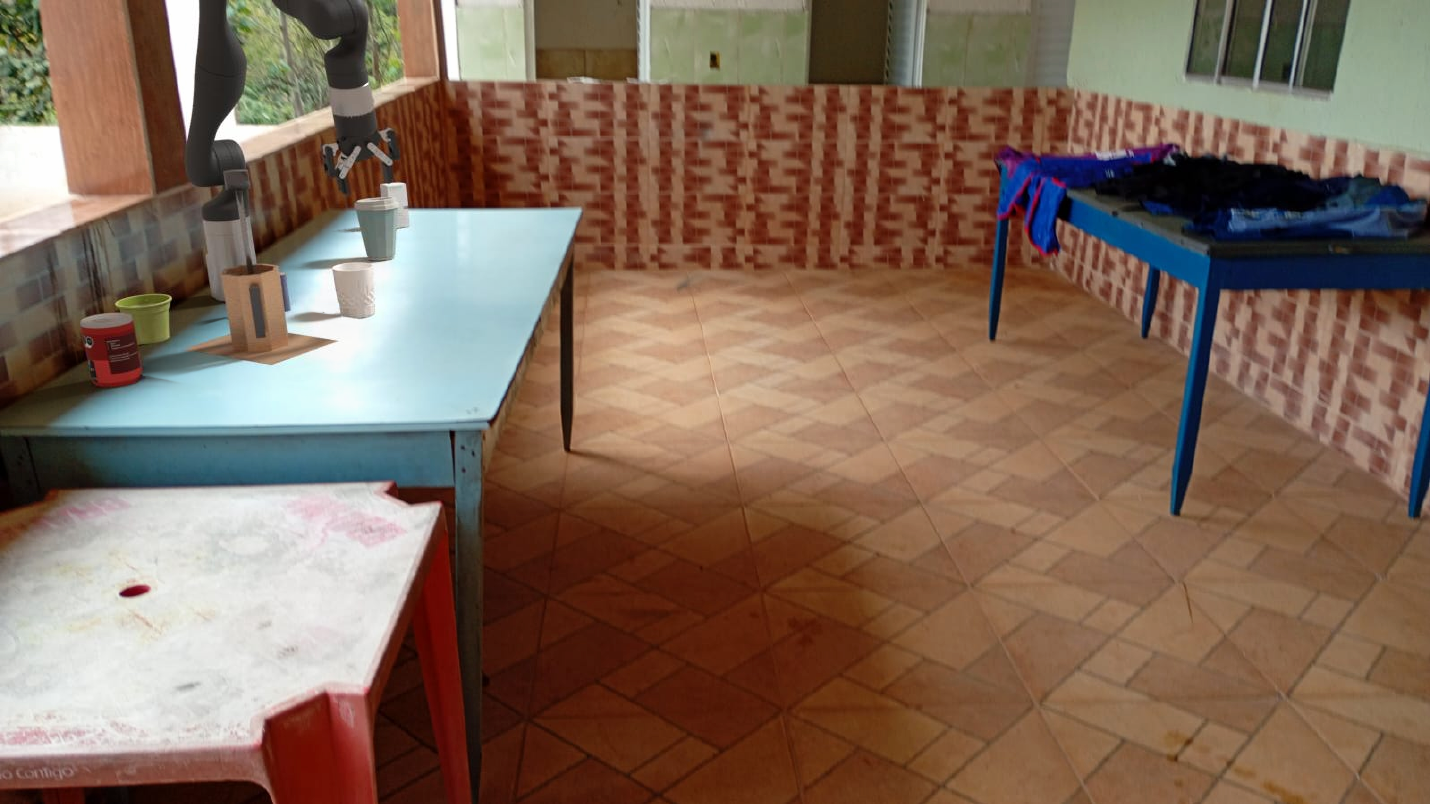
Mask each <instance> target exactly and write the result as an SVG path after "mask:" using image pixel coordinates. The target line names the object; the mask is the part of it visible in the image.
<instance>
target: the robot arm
mask: <svg viewBox="0 0 1430 804" xmlns="http://www.w3.org/2000/svg"><path fill="white" fill-rule="evenodd" d="M227 2H228V0H198V13H199V14H198V32H197V33H198V34H197V46H196V52H195V53H196V54H195V63H194V74H193V75H194V76H193V77H194V78H193V80H194V81H193V82H194V84H193V97H192V99H193V100H192V109H191V116H190V117H191V118H190V122H189V128H188V132H187V137H186V145H185V148H184V149H185V151H184V168H185V174H186V176H187V179H188V180H189V181H188V182H190V183H191V184H192V185H193V186H195V187H198V188H211V187H219V186H221V190H220V192H219V193H218V194H217V195H216V196H215V197H214V198H212V199H210V200H209V201H207V202H206V203H204V204H203V205H202V206H201V211H200V212H201V217H202V218H201V219H202V222H203V223H202V224H203V229H204V236H205V242H206V248H207V253H206V254H205V262H206V268H207V273H208V274H207V275H208V281H209V286H210V293H211V298H214V299H215V300H216V301H220V302H226V301H225V295H224V288H223V282H222V276H221V274H222V271H223V269H227V268H231V267H235V266H239V265H247V264H246V258H245V251H244V244H243V238H242V231H241V224H240V217H239V211H238V204H237V197H236V191H235V190H226V186H225V180H224V173H223V172H224V171H228V170H247V165H246V158H245V155H244V152H243V149H242V147H241V145H240V144H239V143H238V142H237V141H236V140H234V139H230V138H227V139H224V138H223V139H216V135H217V133H218V131H219V129H220V127H221V125H222V124H223V122H224V121H225V120H226V118H227V117H228V116H229V115H230V113H232V111H233V109H235V107H236V105H237V104H238V103H239V101H240V100H241V98H242V96H243V95H244V91H245V86H246V79H247V77H246V76H247V70H248V69H247V68H248V61H247V56H246V53H245V51H244V48H243V47H242V45H241V43H240V41H239V39H238V38H237V36H236V35H235V33H234V31H233V29H232V28H231V25H230V22H228V17H227V16H228V15H227V13H228V12H227V5H228V4H227ZM271 2H272V4H273V5H274V6H275V7H276V8H277V9H278V10H279V11H281V12H282V13H284V14H286V15H287V16H290V17H292V18H294V19H296V20H298V21H300V23H301V24H302V25H303V26H304V27H305V28H306V29H307V31H308V32H309V33H310V35H312V36H313V38H315V39H319V40H321V41H331V40H335V39H339V38H340V39H339V42H338V43H337V44H336V45H335V46H334V47H332V48H331V49H329V50H327V52H326V53H325V54H324V57H323V63H324V69H325V74H326V79H327V86H328V96H329V98H328V99H329V103H330V108H331V109H330V110H331V113H332V119H333V124H334V129H335V133H336V141H335V142H334V143H333V142H332V143H328V144H327V142H323V143H321V144H320V149H321V150H320V151H321V158H322V165H323V172H324V174H325V175H327V176H329V178H331V179H334V178H336V183H337V187H338V190H339V192H340V193H341V194H343V195H344V196H346V197H348V196H351V190H350V185H349V180H348V177H347V174H348V173H349V171H350V169H351V168H352V167H353V165H354V163H359V162H362V161H364V160H369V159H373V157H374V156H376V157H377V158H378V159H379V160H380V161H382V162H380V165H381V166H380V167H381V171H382V178H383V181H384V182H385V184H390V183H393V181H394V178H395V175H394V169H393V163H394V162H396V161H399V160H401V159H402V158H401V151H400V148H399V147H400V146H399V142H398V138H397V134H396V131H395V130H393V129H392V128H391V127H389V126H385V127H384V128H383V130H380V131H379V126H378V120H377V115H376V108H375V100H374V97H373V91H372V88H371V85H370V82H369V77H368V70H367V64H366V51H367V42H368V33H369V22H370V21H369V14H368V13H369V12H368V9H367V5H366V4H365V2H364V0H271ZM215 139H216V140H215ZM382 140H383V141H385V142H386V145H387V151H388V153H387V154H385V153H384V152H383V151H382V150H381V149H379V147H380V146H379V145H380V143H381V141H382ZM338 150H339V152H340V154H339V156H338V158H337V164H335V156H336V153H337V151H338ZM249 195H250V194H249V189H246V190H242V196H243V203H244V210H245V216H246V223H247V230H248V237H249V244H250V250H251V257H252V264H257V258H256V257H257V256H256V252H255V244H254V238H253V237H254V236H253V232H252V231H253V230H252V224H251V218H250V210H249V209H250V196H249Z"/></svg>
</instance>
